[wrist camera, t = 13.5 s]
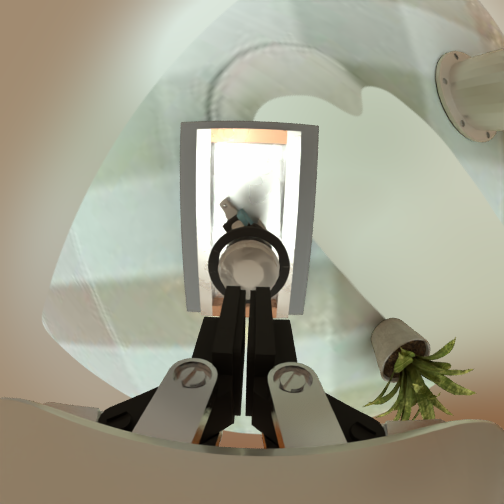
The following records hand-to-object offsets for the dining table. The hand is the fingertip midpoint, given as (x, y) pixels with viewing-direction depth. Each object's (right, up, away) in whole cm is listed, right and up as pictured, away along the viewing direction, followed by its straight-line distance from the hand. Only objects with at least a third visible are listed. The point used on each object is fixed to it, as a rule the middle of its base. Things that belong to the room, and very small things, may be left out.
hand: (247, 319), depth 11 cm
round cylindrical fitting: (0, +5, +16) cm, 16 cm away
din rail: (0, +5, +16) cm, 17 cm away
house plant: (+17, -8, +22) cm, 29 cm away
